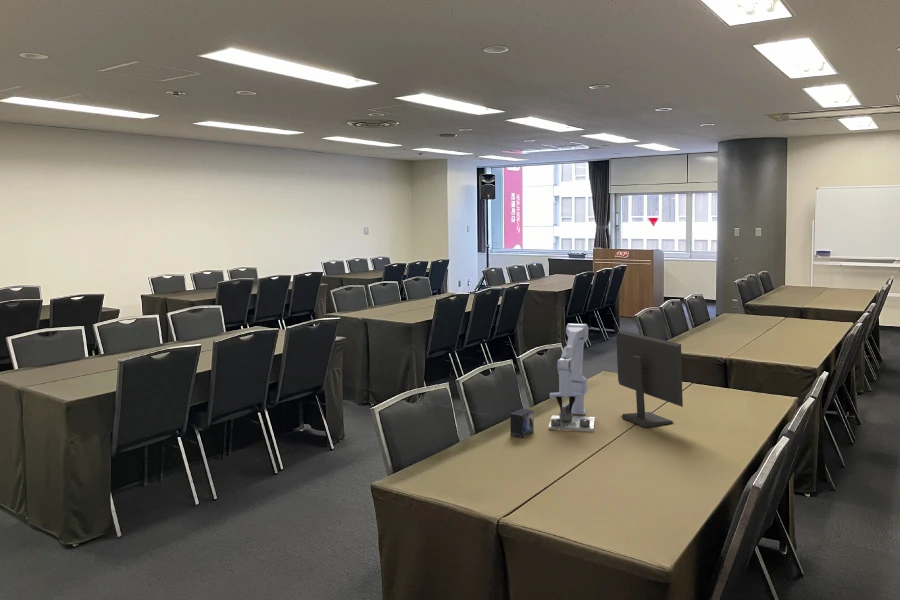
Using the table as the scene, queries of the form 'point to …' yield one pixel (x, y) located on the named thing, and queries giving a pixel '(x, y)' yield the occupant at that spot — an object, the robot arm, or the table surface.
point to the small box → (521, 423)
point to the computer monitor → (649, 373)
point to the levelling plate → (578, 428)
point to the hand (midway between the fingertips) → (565, 412)
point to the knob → (565, 413)
